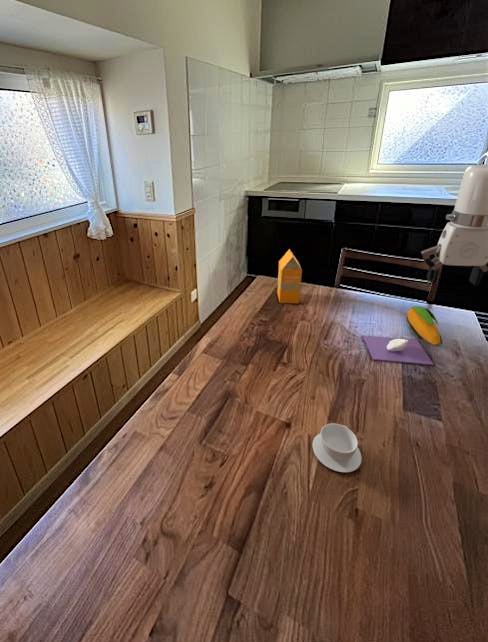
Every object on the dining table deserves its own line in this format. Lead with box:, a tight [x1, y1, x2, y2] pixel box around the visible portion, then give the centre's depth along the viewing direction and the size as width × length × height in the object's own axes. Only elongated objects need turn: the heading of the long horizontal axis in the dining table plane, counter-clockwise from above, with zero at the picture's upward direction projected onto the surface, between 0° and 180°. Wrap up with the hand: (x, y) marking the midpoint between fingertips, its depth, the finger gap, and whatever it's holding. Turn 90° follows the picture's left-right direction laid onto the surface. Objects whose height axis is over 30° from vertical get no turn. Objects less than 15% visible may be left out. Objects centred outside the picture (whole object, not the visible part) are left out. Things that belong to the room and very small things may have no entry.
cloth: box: [362, 335, 434, 366], centre depth 104 cm, size 16×12×1 cm
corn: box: [406, 305, 444, 347], centre depth 109 cm, size 7×8×20 cm
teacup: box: [312, 423, 363, 473], centre depth 73 cm, size 10×10×5 cm
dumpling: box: [387, 338, 408, 351], centre depth 103 cm, size 7×5×4 cm
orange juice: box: [276, 248, 303, 304], centre depth 134 cm, size 8×9×20 cm
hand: (452, 282), depth 88 cm, fingers open, 9 cm apart
